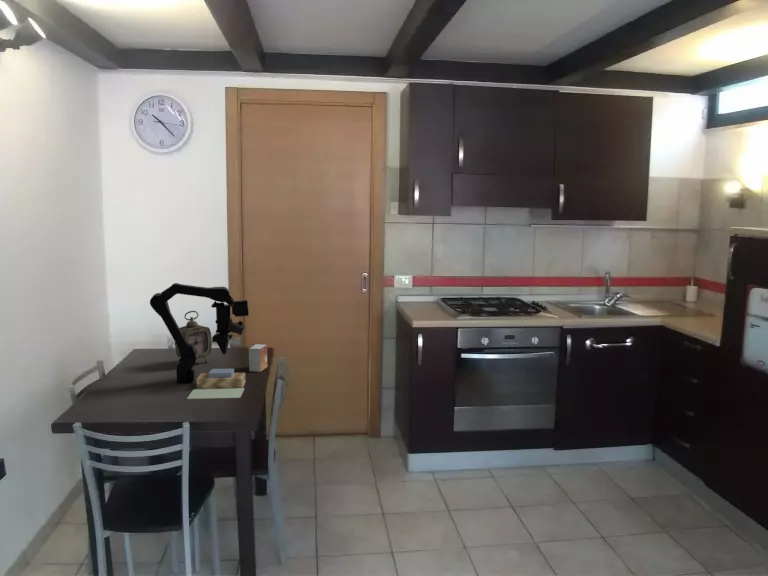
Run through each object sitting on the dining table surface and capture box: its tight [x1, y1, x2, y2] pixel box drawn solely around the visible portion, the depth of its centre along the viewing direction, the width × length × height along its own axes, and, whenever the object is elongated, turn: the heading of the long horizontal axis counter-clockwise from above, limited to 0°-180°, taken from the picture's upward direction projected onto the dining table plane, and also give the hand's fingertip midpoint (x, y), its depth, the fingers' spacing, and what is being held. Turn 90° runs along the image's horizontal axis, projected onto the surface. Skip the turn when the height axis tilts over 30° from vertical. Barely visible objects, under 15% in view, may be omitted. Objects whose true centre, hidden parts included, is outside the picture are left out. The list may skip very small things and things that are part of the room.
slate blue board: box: [208, 368, 235, 378], centre depth 240 cm, size 9×6×2 cm, turn 94°
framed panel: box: [196, 372, 246, 389], centre depth 240 cm, size 18×8×4 cm, turn 94°
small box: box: [248, 343, 268, 373], centre depth 262 cm, size 8×6×10 cm
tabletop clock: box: [174, 310, 213, 363], centre depth 269 cm, size 14×9×25 cm, turn 139°
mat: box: [186, 387, 245, 400], centre depth 230 cm, size 20×11×1 cm, turn 94°
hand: (224, 353), depth 248 cm, fingers open, 2 cm apart
